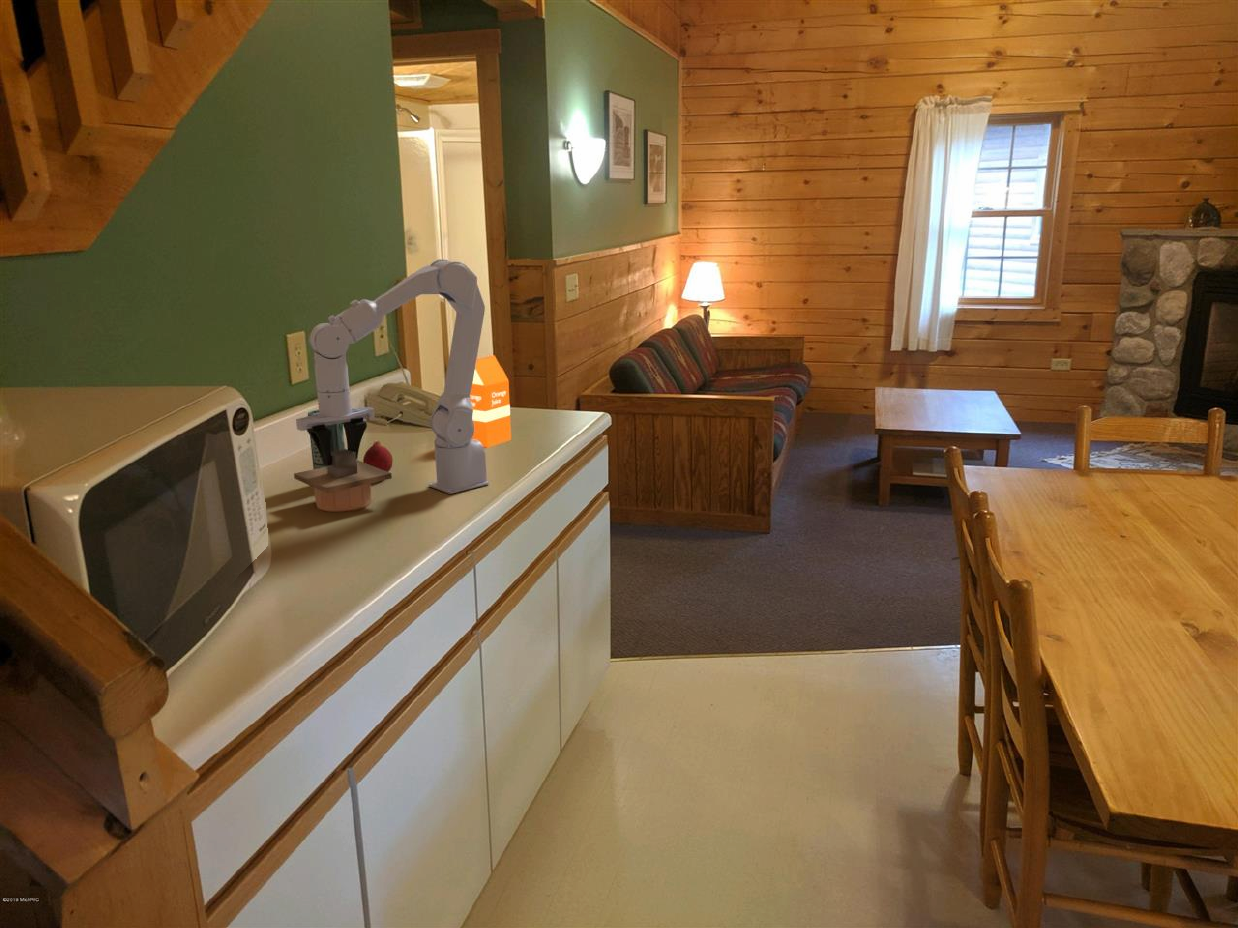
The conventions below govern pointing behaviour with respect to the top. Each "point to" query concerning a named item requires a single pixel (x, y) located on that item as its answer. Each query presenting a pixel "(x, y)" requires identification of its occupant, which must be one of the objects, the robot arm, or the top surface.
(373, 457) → the onion
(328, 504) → the pot
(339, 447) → the can
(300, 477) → the lid
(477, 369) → the orange juice
